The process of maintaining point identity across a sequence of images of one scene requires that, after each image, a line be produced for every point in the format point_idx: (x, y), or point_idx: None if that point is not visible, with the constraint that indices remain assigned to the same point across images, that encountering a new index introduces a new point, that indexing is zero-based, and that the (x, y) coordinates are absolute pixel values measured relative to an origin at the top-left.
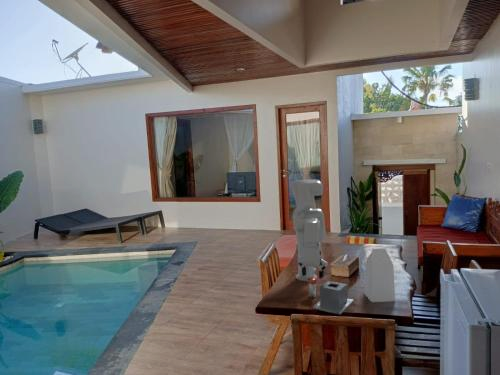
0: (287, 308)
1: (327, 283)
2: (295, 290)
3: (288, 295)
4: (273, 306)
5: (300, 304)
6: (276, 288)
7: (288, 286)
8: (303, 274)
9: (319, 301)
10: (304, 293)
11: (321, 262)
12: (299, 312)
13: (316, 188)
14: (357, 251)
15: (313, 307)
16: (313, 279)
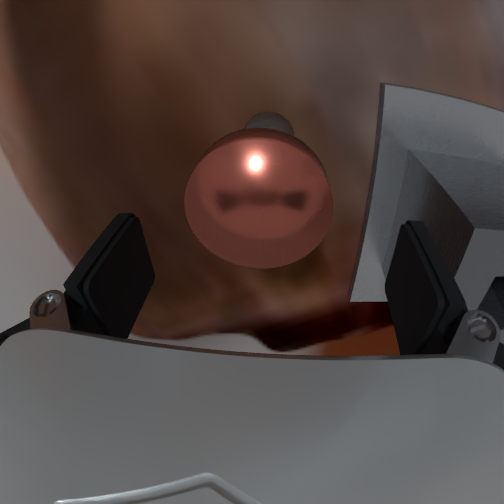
0: (235, 332)
1: (466, 293)
2: (97, 110)
3: (123, 208)
4: (173, 334)
5: (264, 281)
6: (15, 161)
7: (28, 88)
8: (147, 290)
9: (366, 234)
10: (181, 118)
11: (500, 416)
12: (304, 340)
13: None
14: None
15: (352, 298)
16: (281, 224)
